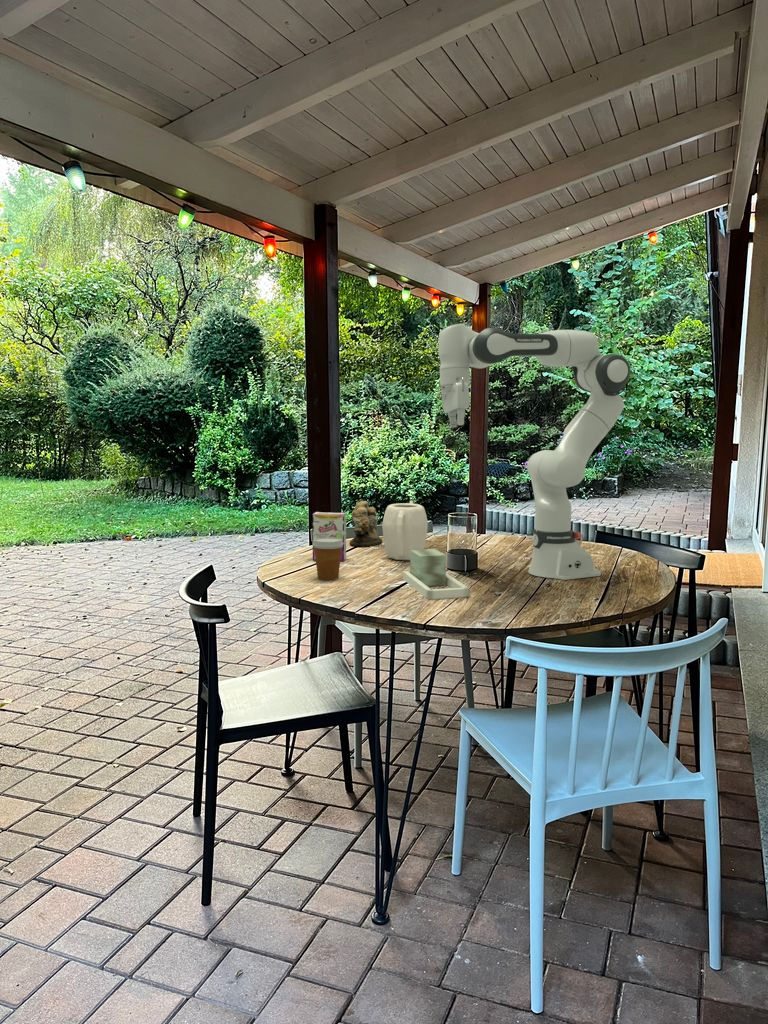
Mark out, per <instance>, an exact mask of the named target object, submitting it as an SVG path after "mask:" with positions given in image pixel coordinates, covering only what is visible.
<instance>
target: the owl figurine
mask: <svg viewBox="0 0 768 1024" xmlns="http://www.w3.org/2000/svg"><path fill="white" fill-rule="evenodd" d="M351 519H352V520H351V522H352V525H354V529H353V532H354V533H355V536H354V537H353V538H352V539H351V540H350V541H349V545H351V547H360V548H361V547H362V548H371V547H370V546H373V547H376V546H377V545H378V546H380V545H382V544H383V539H382V538H381V537H380V535H379V526H378V515H377V510H376V508H375V507H374V506H369V502H368V501H366V500H361V501H359V502H357V503H356V504H355V506H354V509H353V510H352V511H351ZM381 543H382V544H381ZM379 544H380V545H379Z"/></svg>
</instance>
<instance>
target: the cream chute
mask: <svg viewBox="0 0 768 1024" xmlns="http://www.w3.org/2000/svg"><path fill="white" fill-rule="evenodd" d="M402 580H403V581H404V582H406V583H407V584H408V585H410V586H411V587H412V588H413V589H414V590H416V592H418V593H419V594H421V595H422V597H424V598H425V599H426V600H440V599H441V600H444V599H460V598H461V599H462V598H469V599H470V597H471V596H470V595H471V589H470V587H468V586H467V585H465V584H464V583H462V582H461V581H459V580H457V579H456V578H455V577H453V576H451V575H450V574H448V573H447V572H446V585H447V586H448V587H449V588H436V589H435V588H434V589H432V588H430V586H426V585H425V584H424V583H422V582H421V581H420V580H418V579H417V578H416V577H414V576H413V575H412V574H411V573H410V571H409V570H406V571H405V570H403V571H402Z"/></svg>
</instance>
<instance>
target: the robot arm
mask: <svg viewBox="0 0 768 1024" xmlns="http://www.w3.org/2000/svg"><path fill="white" fill-rule="evenodd" d="M599 347H600V344H599V340H598V337H597V336H596V335H595V334H594V333H592V332H590V331H585V330H578V329H555V330H549V331H544V332H540V333H537V334H536V333H510V332H508V331H505V330H503V329H501V328H497V327H488V328H484V329H483V330H482V331H480V332H476V331H475V330H473V329H470V328H469V327H467V325H465V323H462V322H461V323H459V322H458V323H454V324H449V325H447V326H445V327H444V328H442V330H440V332H439V335H438V357H439V361H440V364H439V365H440V366H439V382H438V388H439V390H441V392H440V393H441V403H442V404H441V405H442V408H443V410H442V411H443V412H444V414H447V415H448V419H449V426H450V428H457V426H464V425H465V416H466V409H468V408H470V404H471V403H470V402H471V401H470V400H471V399H470V390H469V389H470V388H469V386H470V385H471V379H470V378H471V376H470V368H475V369H486V368H487V367H490V366H492V365H495V364H498V363H500V362H503V361H504V360H506V359H507V358H511V357H535V358H536V359H537V362H538V364H539V363H540V364H541V365H542V366H545V367H554V368H555V367H556V368H557V367H559V368H563V367H571V370H572V373H573V375H572V376H573V380H574V381H573V382H574V384H575V385H576V386H577V388H578V389H579V390H581V391H583V392H587V393H589V398H588V400H587V401H586V403H585V404H584V405H583V406H582V407H581V409H580V410H579V411H578V412H577V413H576V415H575V416H574V417H573V418H572V420H571V421H570V422H569V423H568V424H567V425H566V427H565V428H564V429H563V430H564V431H563V436H562V439H561V441H560V442H559V444H558V446H557V447H556V448H555V449H554V450H551V449H544V450H543V449H542V450H540V451H538V452H535V453H533V454H532V455H530V457H529V459H528V460H527V464H526V470H527V473H528V475H529V477H530V479H531V485H532V491H533V498H534V506H535V507H534V509H535V511H534V514H535V515H534V528H533V533H532V547H533V549H532V555H531V561H530V565H529V568H528V571H527V573H528V574H530V575H532V576H536V577H540V578H546V579H547V578H548V579H555V580H556V579H557V580H562V581H565V580H567V581H568V580H575V579H585V578H590V577H591V578H592V577H600V576H601V573H602V572H601V571H600V570H599V569H597V568H595V566H594V559H593V556H592V554H591V553H590V552H589V551H587V550H586V549H585V548H584V547H582V545H580V544H579V543H578V542H576V539H577V540H579V539H581V538H582V537H583V534H582V532H580V531H574V530H572V529H571V528H572V527H571V526H572V505H571V502H570V500H569V496H568V493H567V488H571V487H575V486H577V485H579V484H580V483H581V482H582V481H583V480H584V478H585V475H586V466H587V463H588V461H589V459H590V458H591V456H592V453H593V452H594V450H596V448H597V447H598V445H599V444H600V443H601V441H602V440H603V439H604V438H605V437H606V435H607V434H608V433H609V432H610V431H611V429H612V428H613V427H614V425H615V424H616V422H617V421H618V419H619V418H620V415H621V413H622V412H623V410H624V407H625V403H624V400H623V398H622V396H620V395H621V394H622V393H623V392H624V391H625V389H626V384H627V383H628V381H629V379H630V375H631V365H630V363H629V361H628V360H627V358H625V357H624V356H622V355H620V354H618V353H617V354H615V353H609V354H602V353H601V352H600V348H599ZM456 417H457V418H456Z"/></svg>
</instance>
